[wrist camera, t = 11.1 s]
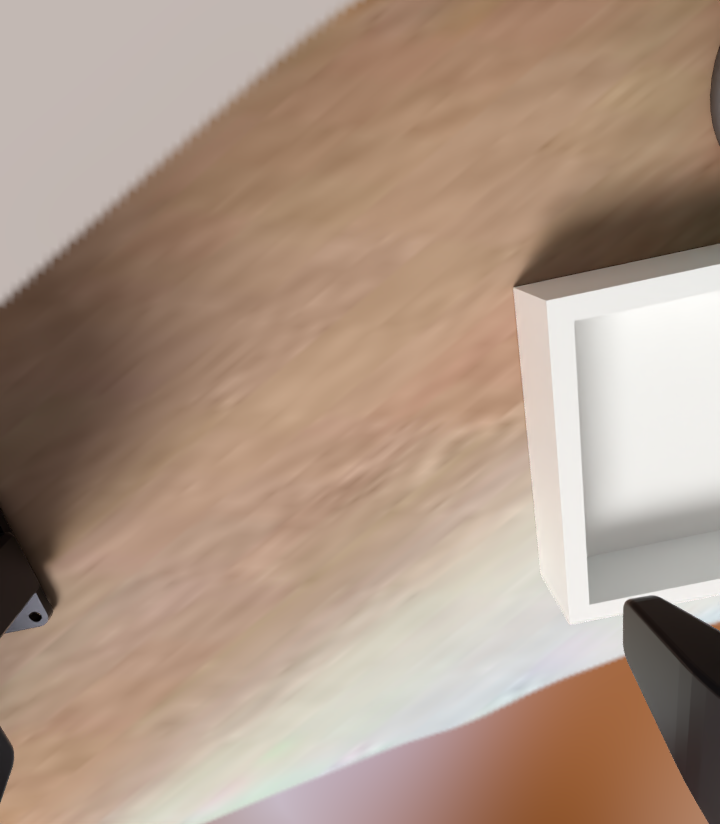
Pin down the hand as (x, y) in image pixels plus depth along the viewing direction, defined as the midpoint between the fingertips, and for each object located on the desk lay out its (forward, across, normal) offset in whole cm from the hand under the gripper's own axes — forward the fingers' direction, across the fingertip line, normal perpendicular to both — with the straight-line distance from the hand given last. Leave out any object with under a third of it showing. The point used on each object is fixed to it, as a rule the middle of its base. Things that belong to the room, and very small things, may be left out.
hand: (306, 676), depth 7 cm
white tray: (+13, -14, +4) cm, 19 cm away
